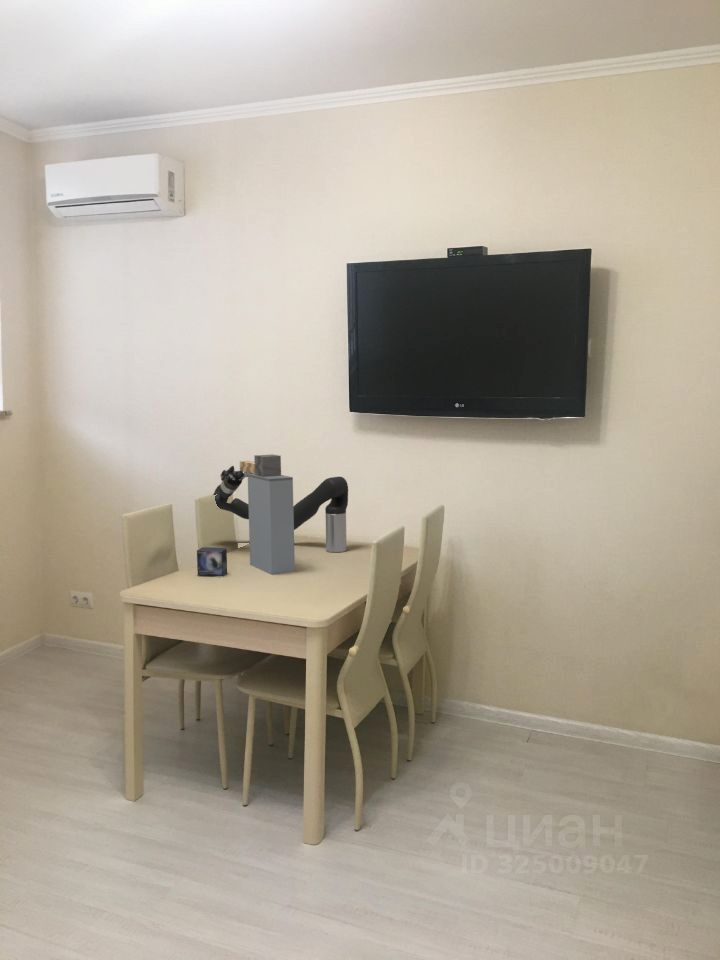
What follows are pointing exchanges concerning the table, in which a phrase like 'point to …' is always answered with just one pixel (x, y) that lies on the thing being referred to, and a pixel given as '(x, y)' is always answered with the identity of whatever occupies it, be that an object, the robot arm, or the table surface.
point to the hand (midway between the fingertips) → (242, 467)
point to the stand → (271, 523)
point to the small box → (212, 561)
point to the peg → (263, 465)
